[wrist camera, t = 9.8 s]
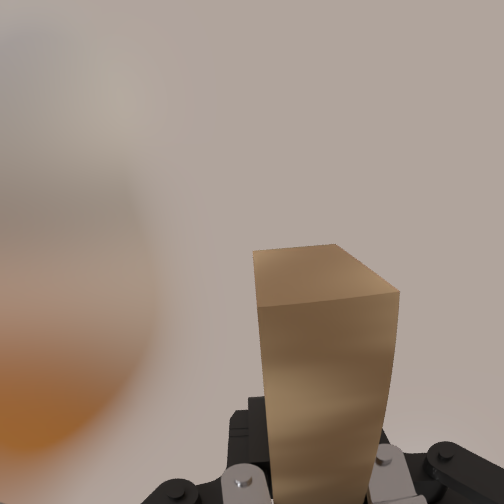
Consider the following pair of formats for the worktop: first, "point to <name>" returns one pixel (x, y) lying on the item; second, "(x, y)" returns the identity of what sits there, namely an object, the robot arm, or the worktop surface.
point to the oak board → (323, 370)
